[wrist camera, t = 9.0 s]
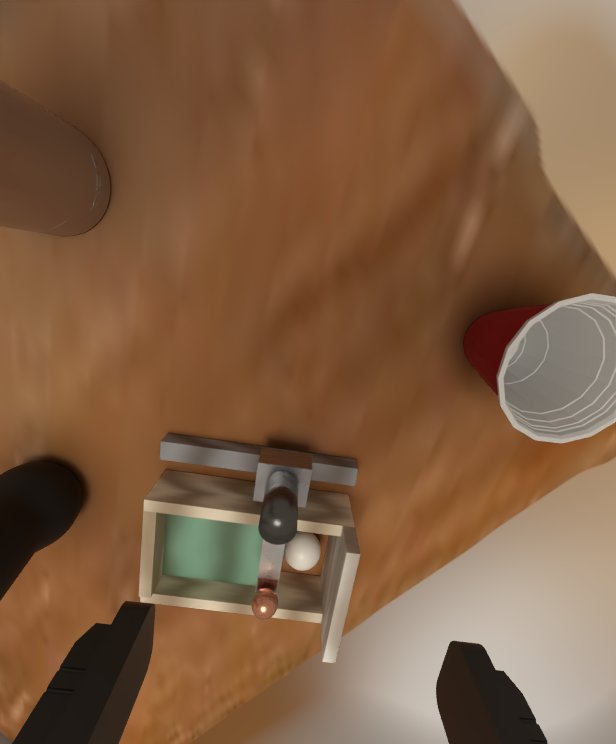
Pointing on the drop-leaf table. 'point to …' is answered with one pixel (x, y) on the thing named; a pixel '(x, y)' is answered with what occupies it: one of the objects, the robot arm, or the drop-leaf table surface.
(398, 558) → the drop-leaf table surface
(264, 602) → the striker
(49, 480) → the cola bottle
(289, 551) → the ball
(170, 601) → the pitch
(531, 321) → the plastic cup
